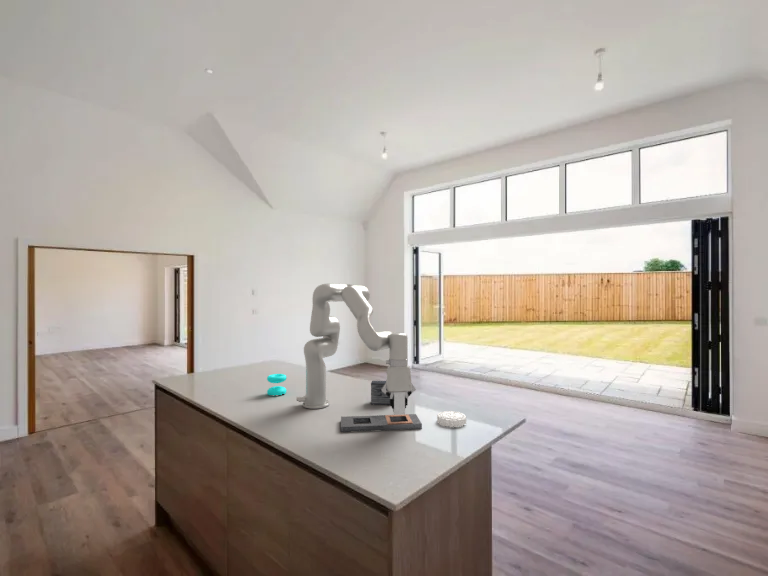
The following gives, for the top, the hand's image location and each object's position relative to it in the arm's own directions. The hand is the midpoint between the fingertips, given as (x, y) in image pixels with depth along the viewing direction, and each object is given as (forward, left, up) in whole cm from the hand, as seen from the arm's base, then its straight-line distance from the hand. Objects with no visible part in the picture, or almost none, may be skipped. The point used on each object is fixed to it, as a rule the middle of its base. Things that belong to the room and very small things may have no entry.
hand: (398, 407), depth 155 cm
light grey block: (0, 0, -2) cm, 2 cm away
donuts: (-58, +52, -7) cm, 78 cm away
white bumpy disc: (+22, 0, -8) cm, 24 cm away
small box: (-4, +30, -7) cm, 31 cm away
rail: (-8, 0, -7) cm, 10 cm away
